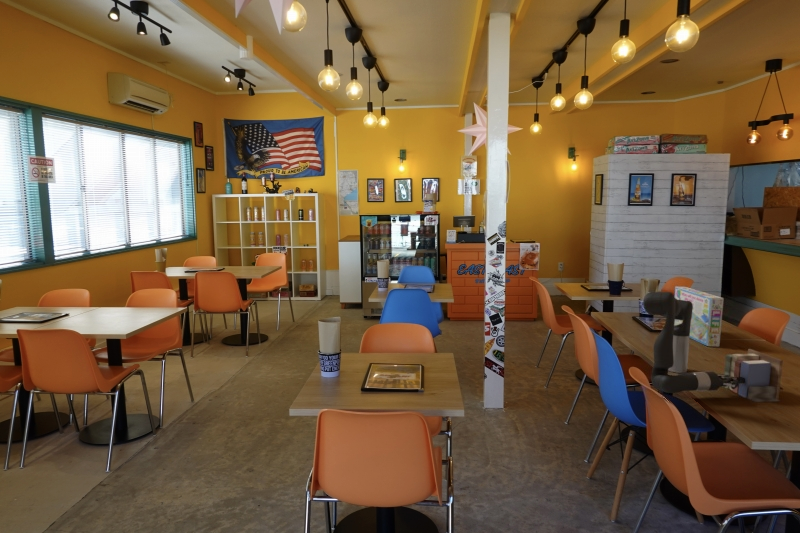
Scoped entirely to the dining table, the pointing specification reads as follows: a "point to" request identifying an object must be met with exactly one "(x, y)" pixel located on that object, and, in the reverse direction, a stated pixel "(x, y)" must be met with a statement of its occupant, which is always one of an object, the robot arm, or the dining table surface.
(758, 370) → the boxed book
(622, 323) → the dining table surface
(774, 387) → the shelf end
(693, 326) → the game box
